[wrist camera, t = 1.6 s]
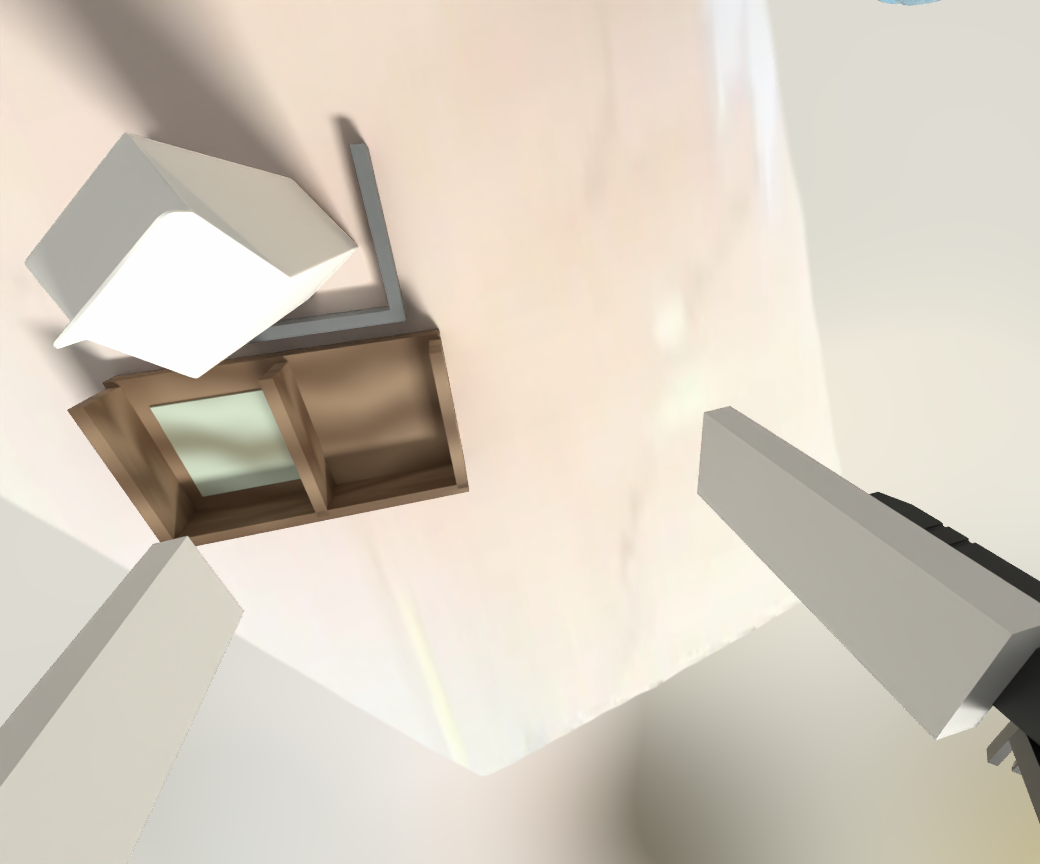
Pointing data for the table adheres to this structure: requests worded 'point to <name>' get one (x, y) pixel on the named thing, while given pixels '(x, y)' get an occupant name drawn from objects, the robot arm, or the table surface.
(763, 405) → the table surface
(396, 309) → the bracket
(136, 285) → the milk
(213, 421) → the box
